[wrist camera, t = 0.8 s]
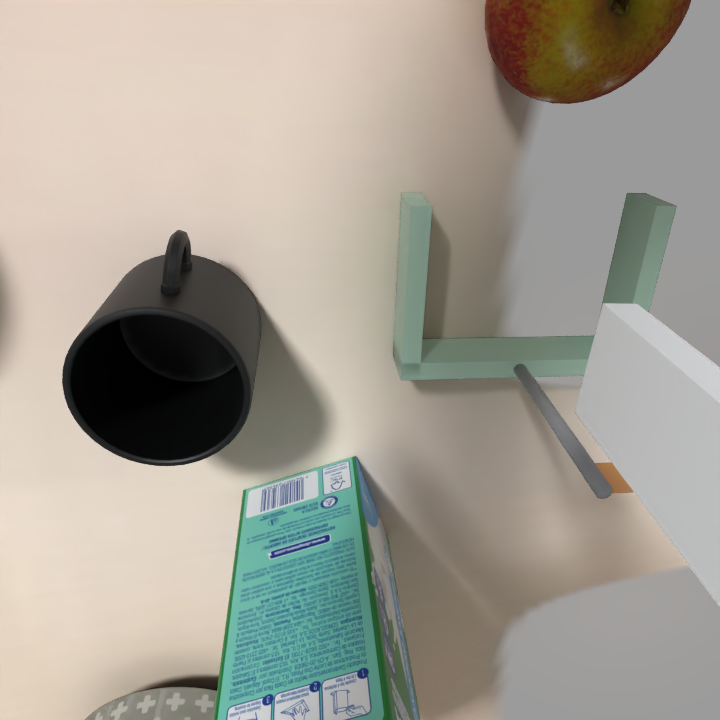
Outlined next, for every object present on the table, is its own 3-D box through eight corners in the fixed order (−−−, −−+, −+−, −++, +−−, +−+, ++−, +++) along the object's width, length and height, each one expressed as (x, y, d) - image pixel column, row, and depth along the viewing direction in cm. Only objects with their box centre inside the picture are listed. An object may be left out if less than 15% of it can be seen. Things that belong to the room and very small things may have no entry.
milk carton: (388, 538, 49) (461, 945, 26) (284, 569, 49) (270, 992, 27) (355, 454, 44) (410, 854, 22) (242, 489, 45) (185, 912, 23)
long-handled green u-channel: (401, 192, 36) (463, 280, 22) (645, 193, 37) (847, 276, 23) (393, 355, 41) (439, 509, 27) (607, 350, 42) (756, 495, 28)
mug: (273, 222, 36) (265, 271, 28) (254, 392, 41) (243, 474, 33) (110, 197, 34) (52, 242, 26) (112, 377, 40) (65, 459, 32)
